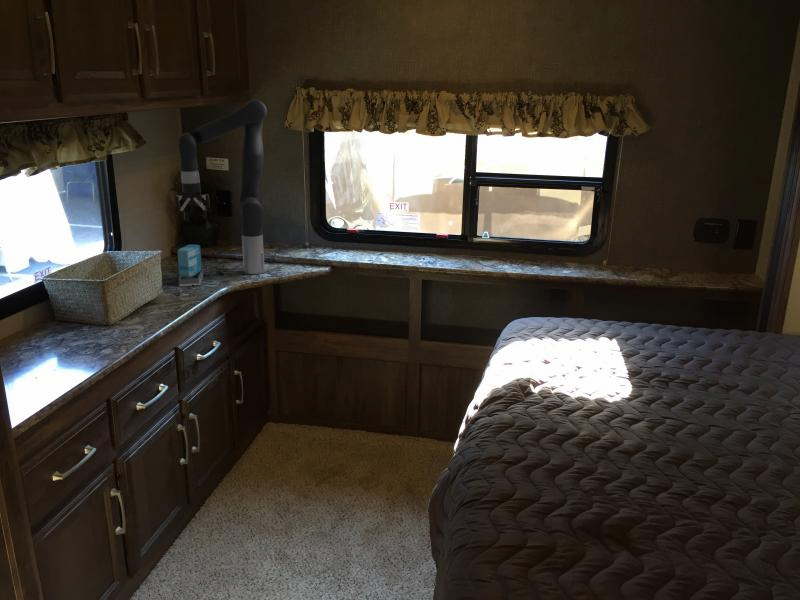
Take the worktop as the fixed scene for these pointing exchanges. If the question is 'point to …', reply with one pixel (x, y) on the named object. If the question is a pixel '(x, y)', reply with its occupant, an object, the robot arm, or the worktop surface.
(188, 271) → the blue box
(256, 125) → the robot arm
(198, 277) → the rail cradle
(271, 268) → the worktop surface
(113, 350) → the worktop surface
